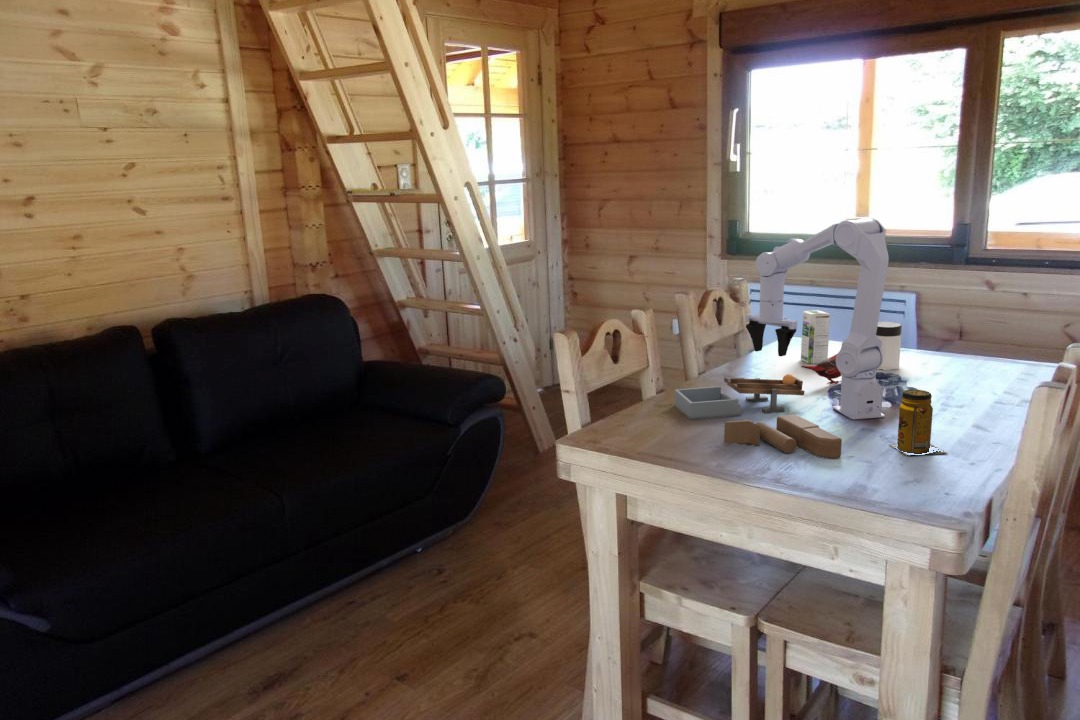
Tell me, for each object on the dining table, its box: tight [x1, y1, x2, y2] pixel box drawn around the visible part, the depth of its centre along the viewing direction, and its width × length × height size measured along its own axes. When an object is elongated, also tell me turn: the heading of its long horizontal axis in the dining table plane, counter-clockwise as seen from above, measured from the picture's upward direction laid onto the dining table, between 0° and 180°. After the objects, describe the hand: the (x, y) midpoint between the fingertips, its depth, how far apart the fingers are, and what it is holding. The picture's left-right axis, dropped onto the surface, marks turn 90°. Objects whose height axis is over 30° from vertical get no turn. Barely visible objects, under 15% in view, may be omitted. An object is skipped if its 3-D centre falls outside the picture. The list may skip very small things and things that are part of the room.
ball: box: [781, 373, 796, 385], centre depth 200 cm, size 3×3×3 cm
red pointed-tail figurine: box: [800, 352, 842, 386], centre depth 215 cm, size 3×18×10 cm, turn 112°
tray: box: [674, 385, 741, 421], centre depth 198 cm, size 12×12×4 cm
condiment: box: [888, 389, 948, 457], centre depth 167 cm, size 7×8×12 cm
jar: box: [876, 321, 903, 371], centre depth 231 cm, size 9×8×12 cm
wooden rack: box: [723, 376, 806, 396], centre depth 201 cm, size 16×12×3 cm
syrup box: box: [800, 309, 831, 365], centre depth 240 cm, size 6×6×14 cm
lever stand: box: [745, 377, 786, 415], centre depth 200 cm, size 5×11×6 cm, turn 8°
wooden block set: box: [723, 413, 843, 460], centre depth 171 cm, size 17×6×18 cm
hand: (770, 353), depth 212 cm, fingers open, 7 cm apart
